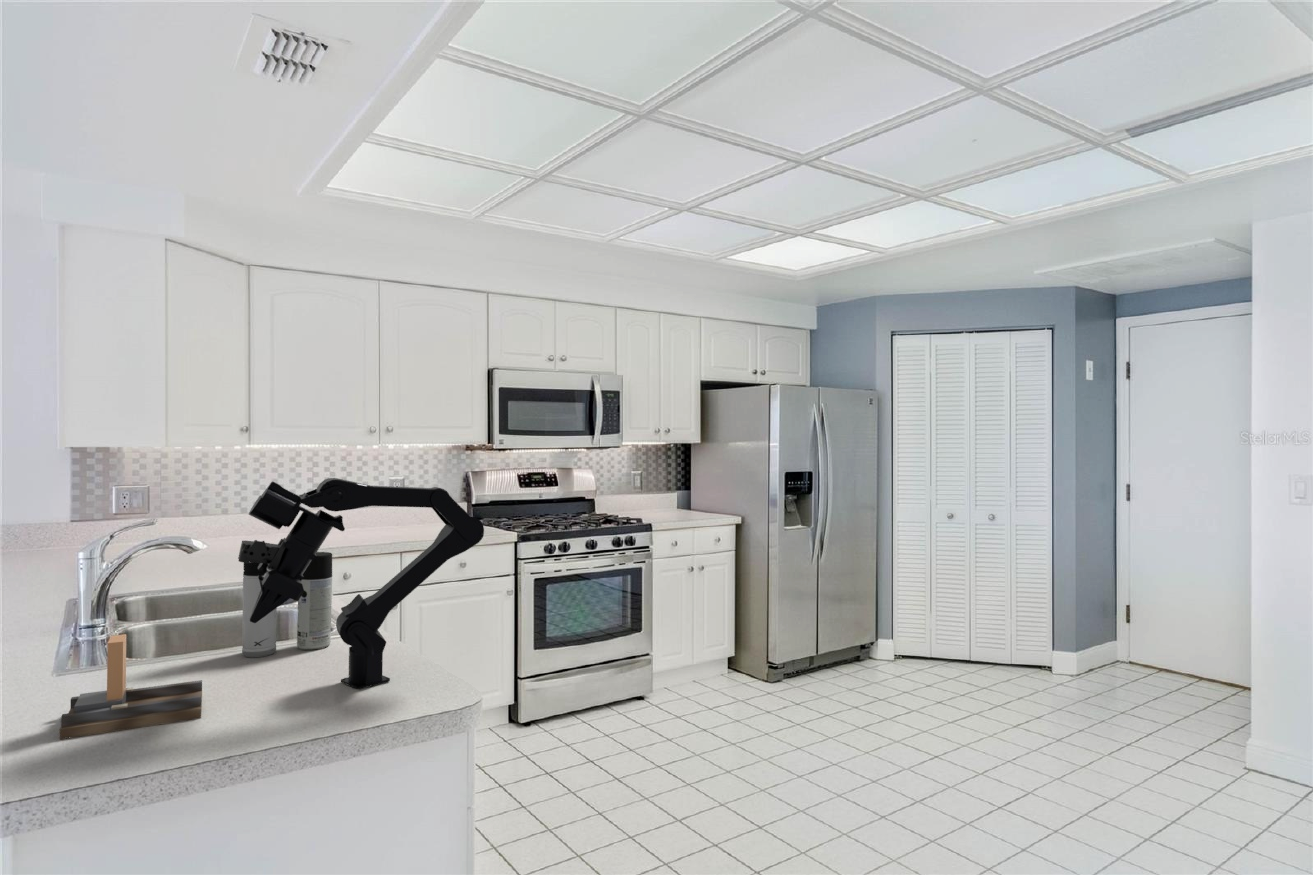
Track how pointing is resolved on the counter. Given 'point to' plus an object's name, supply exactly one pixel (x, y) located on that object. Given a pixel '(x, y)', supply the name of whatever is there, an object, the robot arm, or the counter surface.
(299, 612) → the spray can
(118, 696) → the fader tab
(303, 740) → the counter surface
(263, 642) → the travel mug
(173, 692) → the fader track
